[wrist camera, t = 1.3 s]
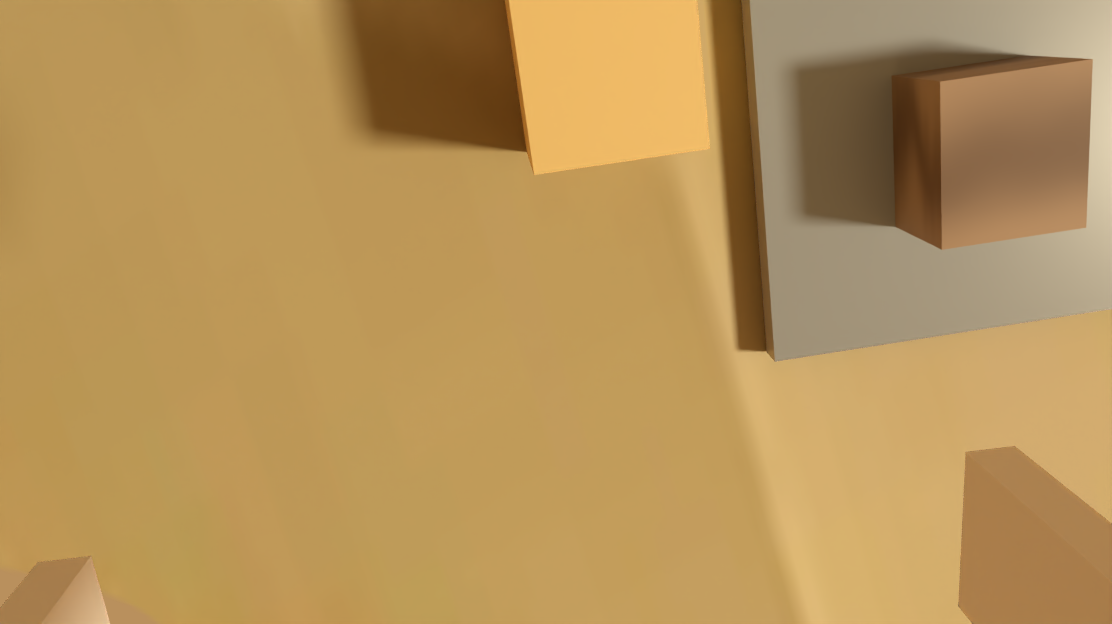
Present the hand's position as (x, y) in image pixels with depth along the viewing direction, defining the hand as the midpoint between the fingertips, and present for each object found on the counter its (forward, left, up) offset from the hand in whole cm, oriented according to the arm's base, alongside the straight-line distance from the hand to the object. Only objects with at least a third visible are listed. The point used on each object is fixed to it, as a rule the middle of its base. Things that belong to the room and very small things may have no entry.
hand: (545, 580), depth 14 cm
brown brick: (-1, +18, -24) cm, 30 cm away
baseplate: (-1, +18, -25) cm, 31 cm away
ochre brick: (-6, +4, -25) cm, 26 cm away
